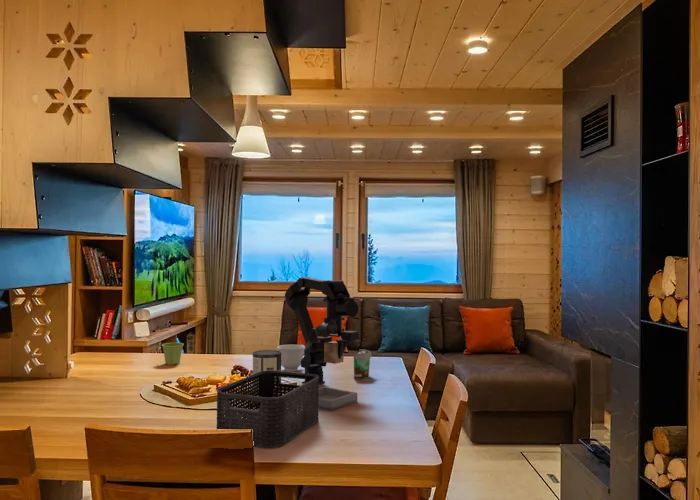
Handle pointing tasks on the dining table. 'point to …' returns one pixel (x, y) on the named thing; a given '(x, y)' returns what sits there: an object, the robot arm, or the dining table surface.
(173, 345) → the plant pot
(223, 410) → the storage bin
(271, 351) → the coffee can
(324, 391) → the serving tray
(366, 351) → the food container
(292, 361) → the teacup
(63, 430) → the dining table surface
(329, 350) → the walnut block
